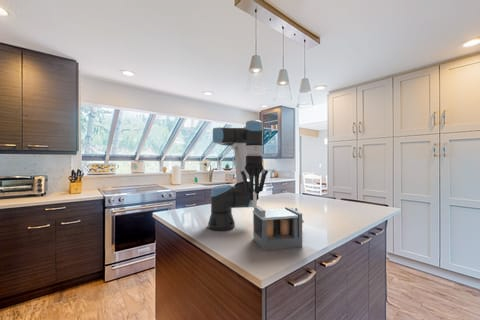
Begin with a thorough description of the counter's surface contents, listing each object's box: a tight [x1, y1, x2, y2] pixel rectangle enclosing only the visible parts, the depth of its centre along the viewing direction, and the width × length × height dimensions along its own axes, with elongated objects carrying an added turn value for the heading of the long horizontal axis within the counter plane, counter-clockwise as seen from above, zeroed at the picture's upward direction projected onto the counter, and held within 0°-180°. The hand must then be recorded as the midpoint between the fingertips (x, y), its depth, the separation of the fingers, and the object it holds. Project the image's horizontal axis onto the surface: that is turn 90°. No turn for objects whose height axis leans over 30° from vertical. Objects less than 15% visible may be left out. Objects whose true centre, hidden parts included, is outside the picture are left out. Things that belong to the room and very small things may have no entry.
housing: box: [252, 206, 303, 252], centre depth 100 cm, size 14×18×14 cm
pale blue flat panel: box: [252, 205, 298, 220], centre depth 99 cm, size 14×16×4 cm
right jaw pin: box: [280, 218, 290, 236], centre depth 101 cm, size 4×4×12 cm
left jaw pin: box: [266, 220, 273, 237], centre depth 99 cm, size 4×4×12 cm
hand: (254, 207), depth 99 cm, fingers closed
